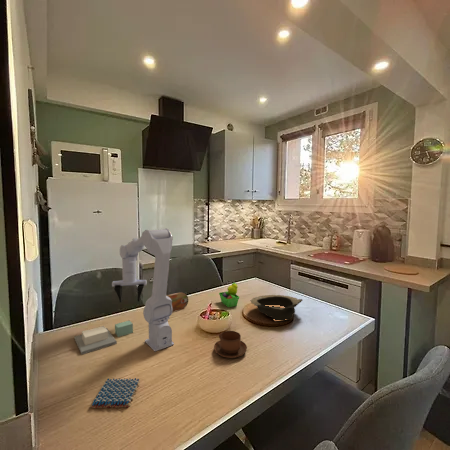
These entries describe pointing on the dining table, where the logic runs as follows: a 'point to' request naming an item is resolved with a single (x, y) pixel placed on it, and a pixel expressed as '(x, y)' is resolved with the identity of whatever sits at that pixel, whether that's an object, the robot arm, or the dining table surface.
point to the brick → (123, 328)
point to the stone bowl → (273, 311)
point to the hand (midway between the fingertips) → (130, 301)
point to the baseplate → (95, 345)
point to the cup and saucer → (230, 345)
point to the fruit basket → (230, 296)
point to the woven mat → (116, 393)
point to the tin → (178, 301)
